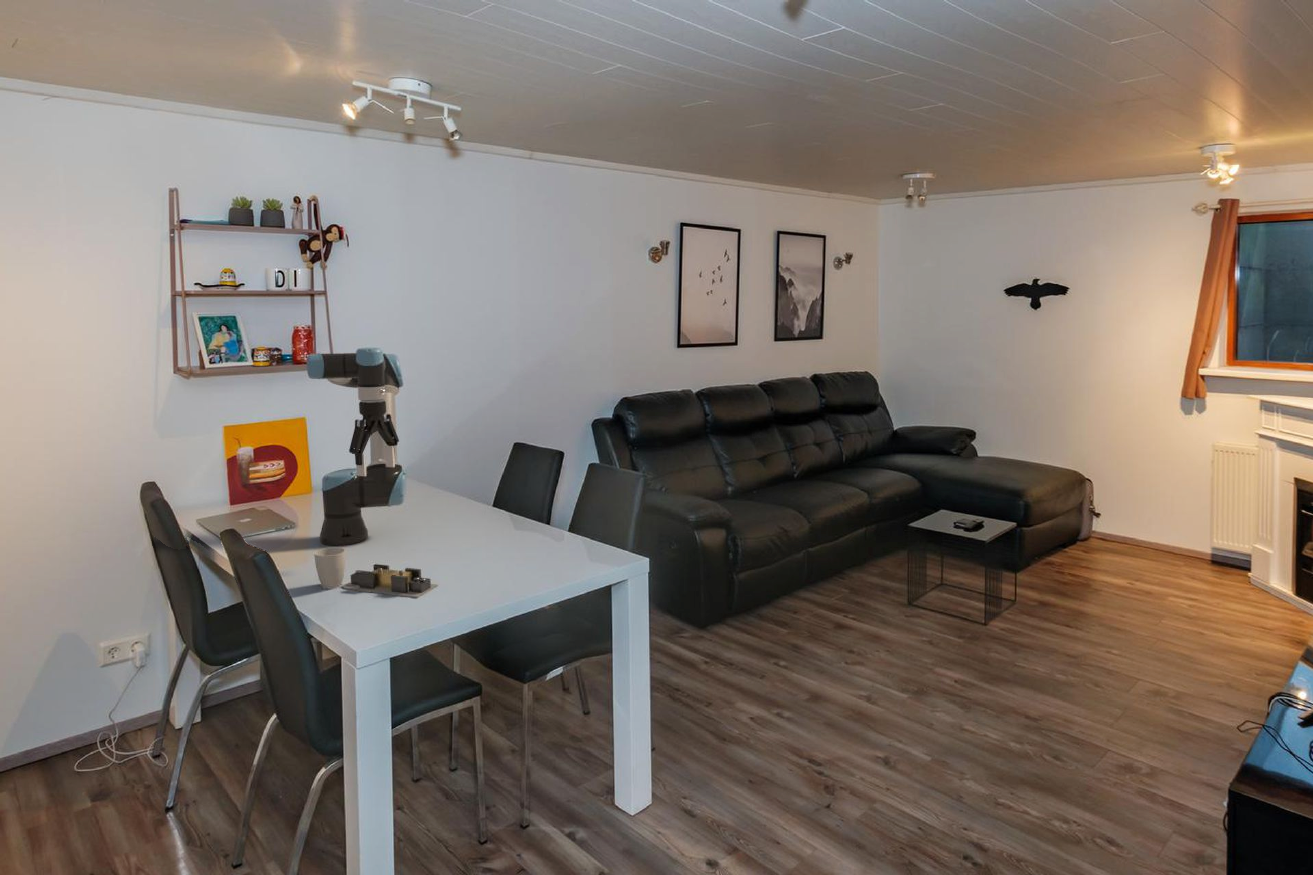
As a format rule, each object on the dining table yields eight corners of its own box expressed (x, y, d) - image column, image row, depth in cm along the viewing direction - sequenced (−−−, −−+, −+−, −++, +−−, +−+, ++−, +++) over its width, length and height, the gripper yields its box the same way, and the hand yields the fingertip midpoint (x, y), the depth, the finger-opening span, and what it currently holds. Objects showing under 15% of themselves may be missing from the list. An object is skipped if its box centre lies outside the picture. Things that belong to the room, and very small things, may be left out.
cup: (336, 578, 238) (333, 545, 237) (353, 584, 234) (351, 550, 232) (310, 586, 232) (308, 552, 230) (327, 592, 227) (325, 557, 225)
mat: (343, 588, 230) (343, 587, 230) (366, 577, 240) (366, 575, 240) (417, 597, 223) (417, 596, 223) (438, 585, 232) (438, 584, 232)
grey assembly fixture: (347, 585, 231) (346, 570, 231) (364, 577, 238) (363, 562, 238) (418, 594, 224) (417, 579, 223) (433, 585, 231) (433, 570, 230)
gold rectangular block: (412, 586, 231) (411, 569, 230) (404, 590, 228) (403, 573, 227) (378, 581, 234) (377, 565, 234) (370, 586, 231) (369, 569, 230)
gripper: (355, 406, 231) (359, 480, 234) (408, 396, 254) (411, 464, 258) (333, 405, 233) (337, 478, 237) (387, 395, 257) (391, 462, 260)
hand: (376, 471), depth 247 cm, fingers open, 13 cm apart
